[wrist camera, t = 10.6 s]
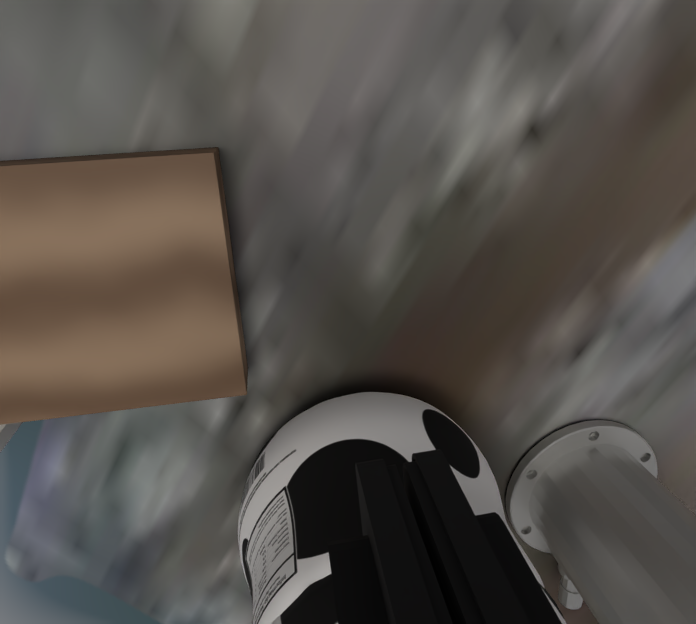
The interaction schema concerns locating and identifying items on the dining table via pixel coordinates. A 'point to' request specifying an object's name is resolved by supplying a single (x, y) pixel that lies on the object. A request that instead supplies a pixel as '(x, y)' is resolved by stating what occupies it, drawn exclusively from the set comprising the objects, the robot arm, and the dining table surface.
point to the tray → (7, 433)
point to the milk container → (338, 495)
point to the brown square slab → (116, 284)
